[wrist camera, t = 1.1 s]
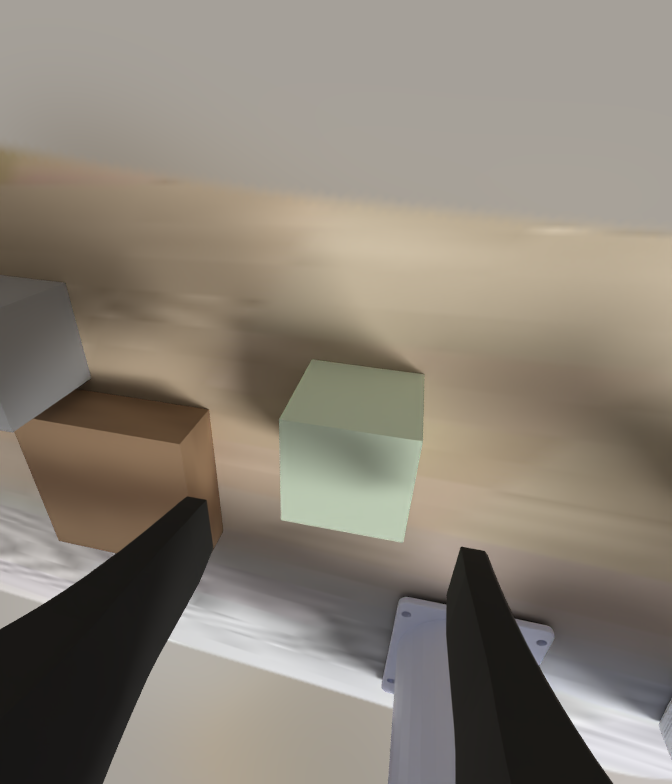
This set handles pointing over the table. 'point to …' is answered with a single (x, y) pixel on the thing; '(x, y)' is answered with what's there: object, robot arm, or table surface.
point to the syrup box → (667, 727)
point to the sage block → (351, 449)
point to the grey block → (36, 349)
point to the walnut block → (119, 465)
